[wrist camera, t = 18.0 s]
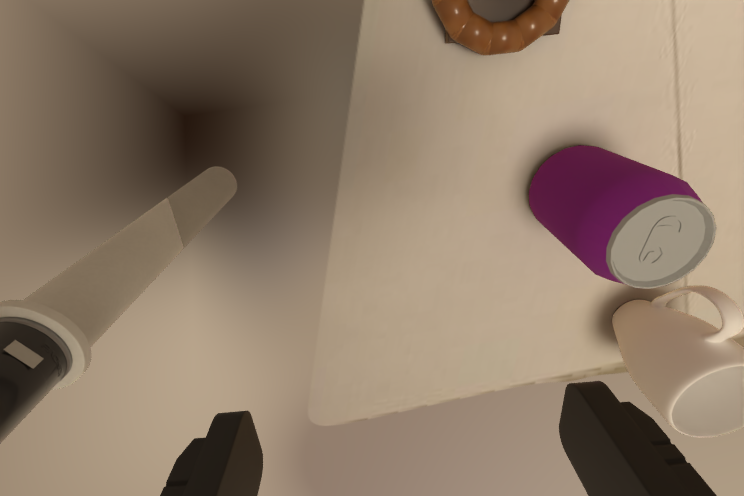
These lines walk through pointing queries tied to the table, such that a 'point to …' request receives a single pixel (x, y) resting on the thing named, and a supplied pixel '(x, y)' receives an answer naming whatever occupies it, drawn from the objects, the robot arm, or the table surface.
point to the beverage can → (622, 216)
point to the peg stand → (502, 12)
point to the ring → (497, 25)
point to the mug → (686, 361)
